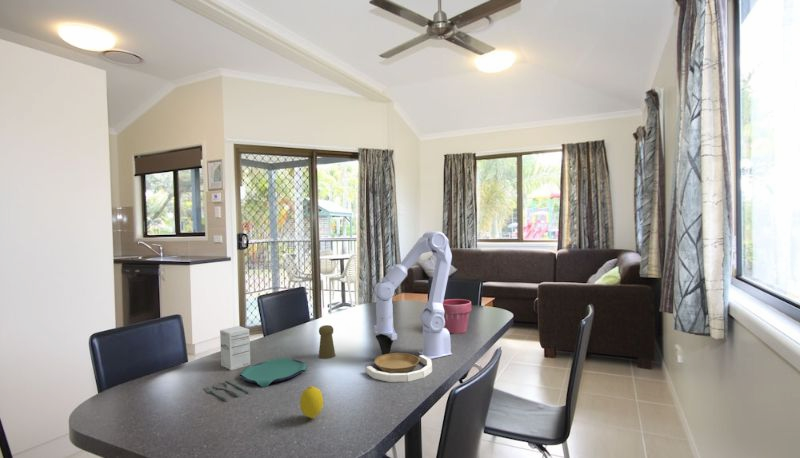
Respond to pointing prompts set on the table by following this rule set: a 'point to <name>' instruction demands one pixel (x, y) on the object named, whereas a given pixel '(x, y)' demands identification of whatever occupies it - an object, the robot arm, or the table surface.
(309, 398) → the lemon
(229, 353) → the supplement box
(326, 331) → the cork
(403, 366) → the plant saucer
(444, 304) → the plant pot
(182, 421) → the table surface
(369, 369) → the centring cradle
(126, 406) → the table surface
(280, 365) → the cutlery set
